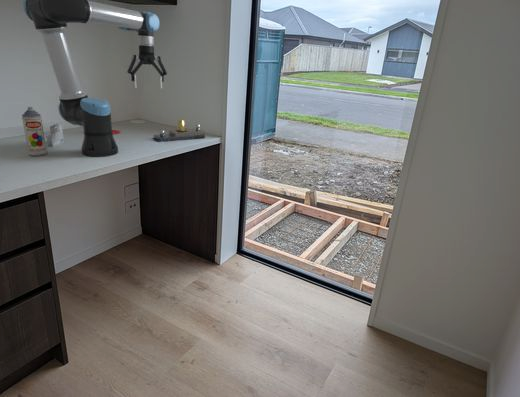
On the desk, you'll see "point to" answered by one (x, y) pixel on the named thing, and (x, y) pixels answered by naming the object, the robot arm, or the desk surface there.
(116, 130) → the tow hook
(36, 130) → the aerosol can
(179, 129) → the brass pin
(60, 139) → the ink cartridge box
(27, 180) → the desk surface
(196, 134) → the door bolt
